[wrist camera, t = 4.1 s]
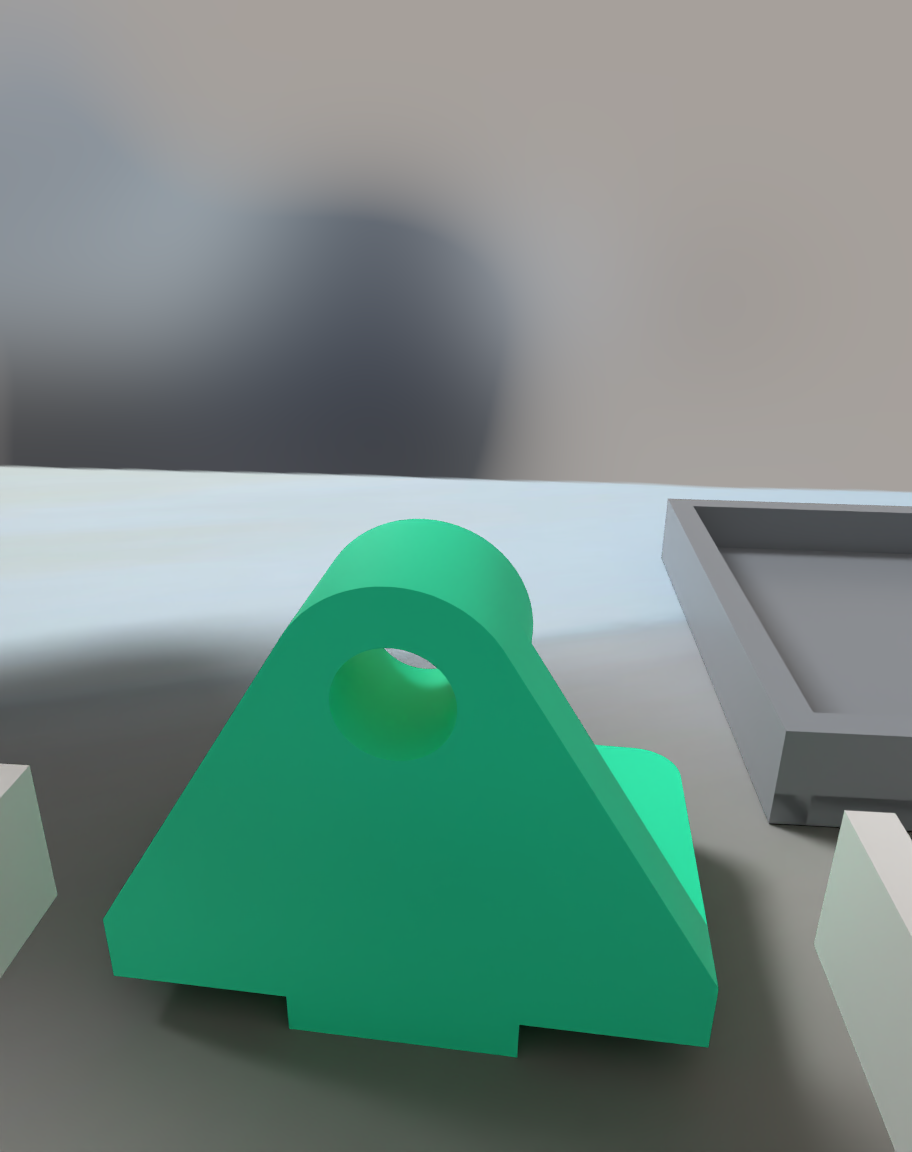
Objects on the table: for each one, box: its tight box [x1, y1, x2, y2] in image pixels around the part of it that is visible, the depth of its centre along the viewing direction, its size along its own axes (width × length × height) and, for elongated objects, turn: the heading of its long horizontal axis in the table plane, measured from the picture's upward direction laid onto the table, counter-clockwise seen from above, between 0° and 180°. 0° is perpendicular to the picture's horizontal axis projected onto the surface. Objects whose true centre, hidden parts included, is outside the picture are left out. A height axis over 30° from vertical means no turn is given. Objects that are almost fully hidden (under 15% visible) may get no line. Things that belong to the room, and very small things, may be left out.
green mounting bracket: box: [103, 519, 719, 1057], centre depth 19 cm, size 12×8×10 cm, turn 83°
